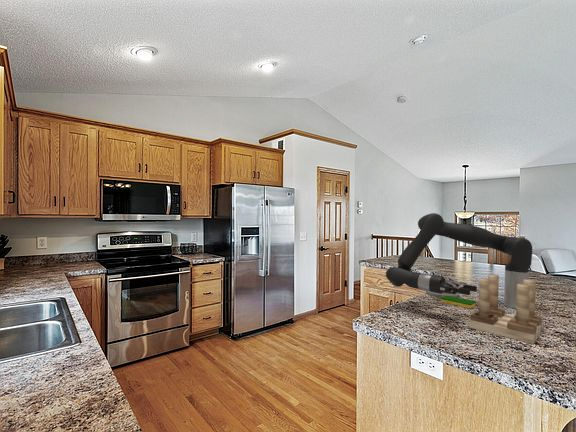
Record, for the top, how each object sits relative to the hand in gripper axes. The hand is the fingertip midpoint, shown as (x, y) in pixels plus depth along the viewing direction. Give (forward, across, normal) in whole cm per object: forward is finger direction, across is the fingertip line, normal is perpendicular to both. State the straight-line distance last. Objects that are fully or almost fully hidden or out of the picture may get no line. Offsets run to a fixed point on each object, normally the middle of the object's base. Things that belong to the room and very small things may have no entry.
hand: (473, 290), depth 125 cm
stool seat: (+10, +6, +14) cm, 18 cm away
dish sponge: (-14, +28, +14) cm, 35 cm away
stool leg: (+4, 0, +11) cm, 11 cm away
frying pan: (-27, +46, +14) cm, 55 cm away
